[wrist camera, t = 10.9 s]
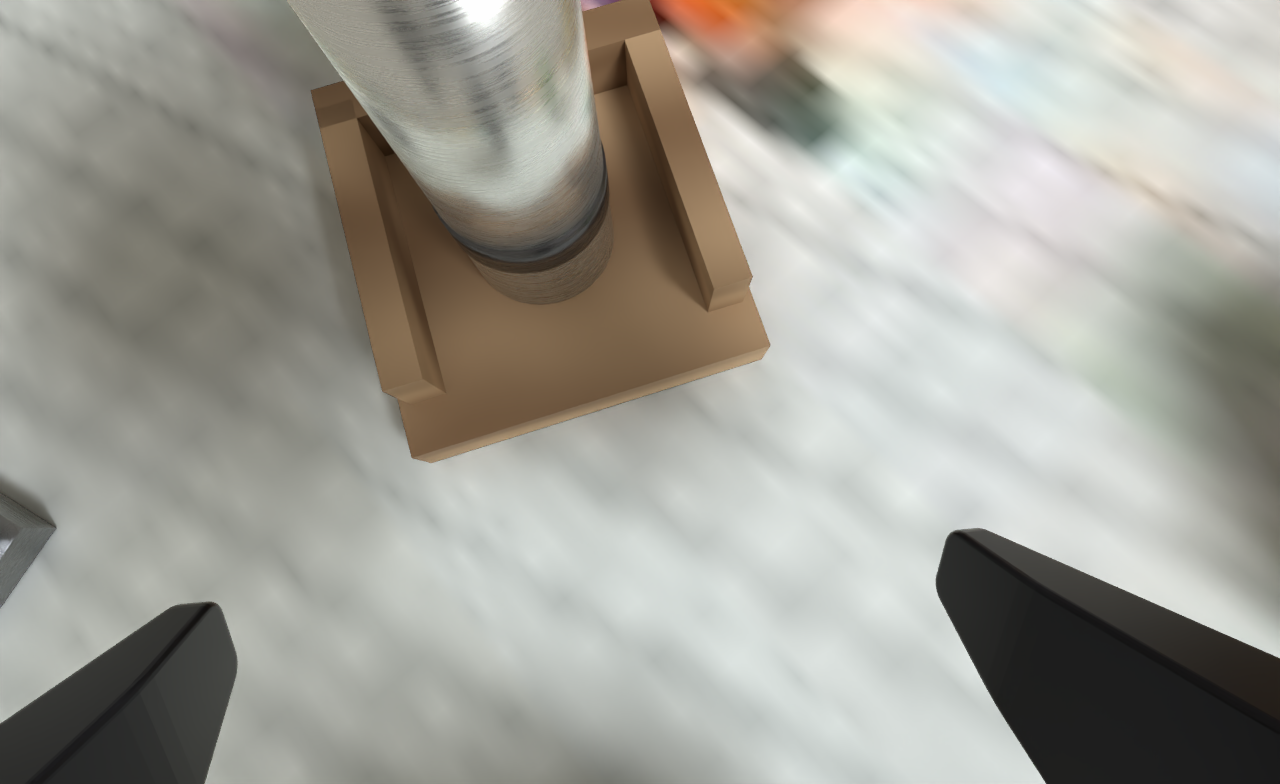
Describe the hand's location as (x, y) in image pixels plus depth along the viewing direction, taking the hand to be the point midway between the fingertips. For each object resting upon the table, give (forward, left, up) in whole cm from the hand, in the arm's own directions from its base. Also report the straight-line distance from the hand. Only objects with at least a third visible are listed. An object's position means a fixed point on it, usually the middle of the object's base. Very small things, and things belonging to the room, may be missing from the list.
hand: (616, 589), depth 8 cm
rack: (+9, -2, -10) cm, 13 cm away
